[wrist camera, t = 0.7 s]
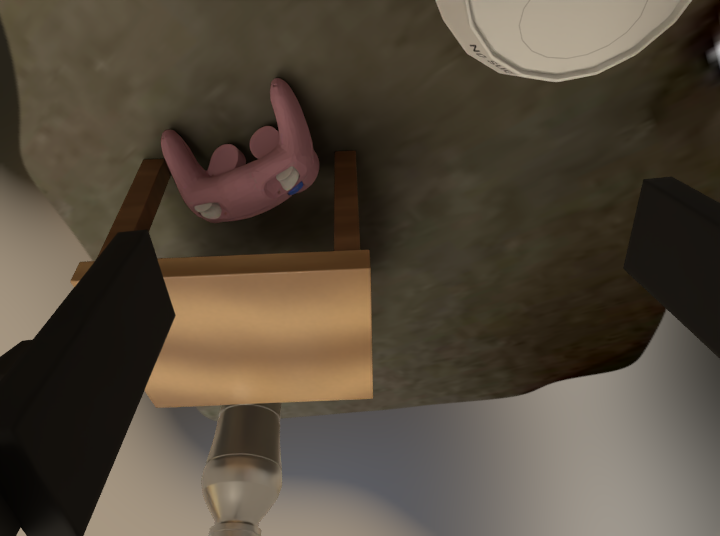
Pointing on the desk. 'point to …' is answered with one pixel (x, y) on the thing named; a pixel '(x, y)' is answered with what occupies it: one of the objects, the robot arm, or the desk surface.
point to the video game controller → (247, 166)
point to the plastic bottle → (243, 468)
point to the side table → (261, 311)
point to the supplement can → (557, 33)
